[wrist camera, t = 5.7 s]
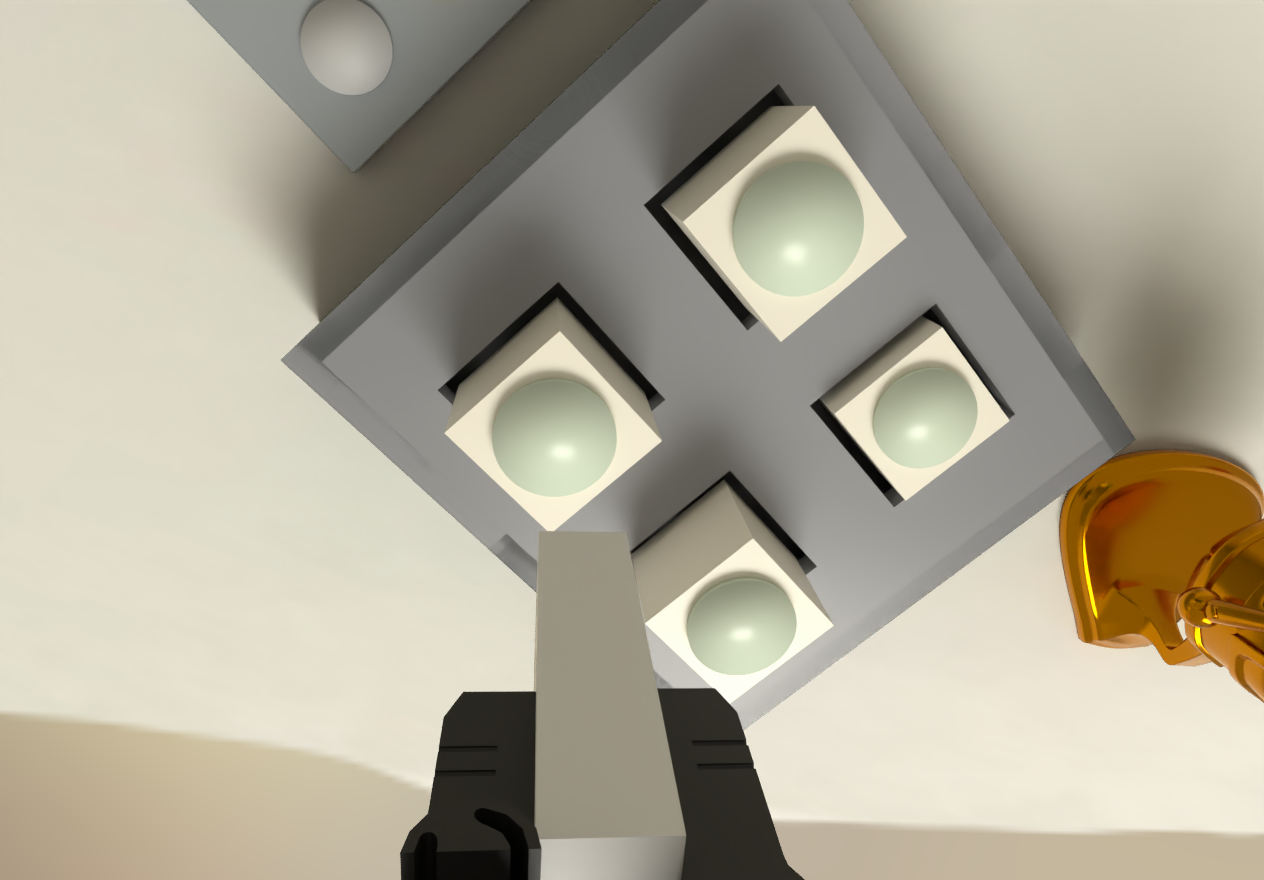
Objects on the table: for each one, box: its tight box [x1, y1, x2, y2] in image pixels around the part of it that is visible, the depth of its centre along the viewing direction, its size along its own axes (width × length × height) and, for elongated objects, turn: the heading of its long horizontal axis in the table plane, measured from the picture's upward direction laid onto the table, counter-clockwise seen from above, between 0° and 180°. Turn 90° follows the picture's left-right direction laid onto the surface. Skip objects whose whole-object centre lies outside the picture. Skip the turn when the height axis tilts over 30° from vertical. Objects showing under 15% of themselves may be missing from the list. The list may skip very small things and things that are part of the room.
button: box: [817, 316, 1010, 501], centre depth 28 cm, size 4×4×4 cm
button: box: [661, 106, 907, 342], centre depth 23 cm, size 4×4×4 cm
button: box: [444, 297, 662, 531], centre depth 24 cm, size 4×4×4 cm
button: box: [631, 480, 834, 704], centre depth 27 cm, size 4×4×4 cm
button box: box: [281, 0, 1136, 730], centre depth 28 cm, size 20×18×4 cm
